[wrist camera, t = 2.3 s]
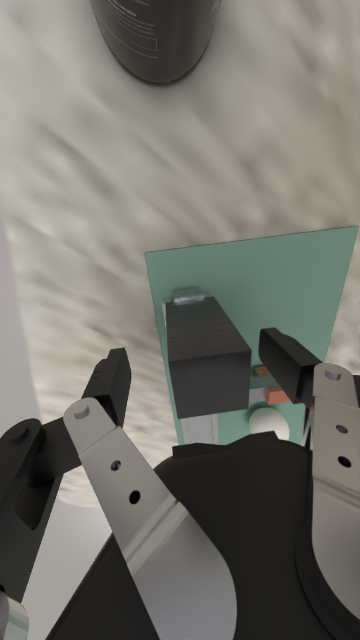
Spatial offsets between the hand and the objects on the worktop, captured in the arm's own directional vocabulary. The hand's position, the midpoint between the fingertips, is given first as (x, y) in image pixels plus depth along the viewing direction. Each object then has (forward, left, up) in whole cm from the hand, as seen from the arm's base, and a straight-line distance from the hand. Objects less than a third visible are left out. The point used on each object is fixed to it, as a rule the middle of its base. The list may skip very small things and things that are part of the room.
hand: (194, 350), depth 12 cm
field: (-6, +16, -8) cm, 19 cm away
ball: (-8, +16, -5) cm, 19 cm away
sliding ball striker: (-4, +4, -7) cm, 9 cm away
